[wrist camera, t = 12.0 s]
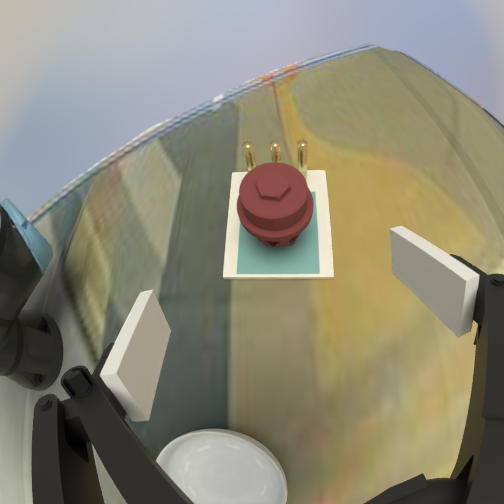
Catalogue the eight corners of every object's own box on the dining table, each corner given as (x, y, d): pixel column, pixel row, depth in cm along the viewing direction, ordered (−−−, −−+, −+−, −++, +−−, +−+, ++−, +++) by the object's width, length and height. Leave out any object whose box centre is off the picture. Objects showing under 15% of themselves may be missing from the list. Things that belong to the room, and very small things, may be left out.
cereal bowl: (152, 477, 34) (130, 490, 28) (209, 400, 39) (194, 404, 32) (245, 537, 29) (238, 559, 23) (312, 462, 34) (315, 477, 27)
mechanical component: (238, 256, 46) (252, 199, 49) (305, 266, 44) (314, 207, 47) (220, 214, 34) (241, 148, 38) (309, 226, 32) (319, 156, 36)
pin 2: (274, 183, 50) (270, 147, 42) (274, 176, 51) (270, 140, 42) (282, 183, 50) (279, 146, 42) (282, 176, 50) (279, 140, 42)
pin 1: (250, 184, 51) (242, 148, 42) (250, 177, 51) (243, 141, 43) (258, 183, 50) (252, 148, 42) (259, 177, 51) (252, 141, 43)
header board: (224, 279, 46) (222, 277, 45) (233, 176, 53) (232, 172, 52) (332, 279, 44) (333, 276, 43) (324, 173, 51) (325, 170, 50)
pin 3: (298, 183, 50) (297, 146, 41) (298, 176, 50) (297, 139, 42) (306, 182, 49) (307, 146, 41) (306, 176, 50) (307, 139, 42)
